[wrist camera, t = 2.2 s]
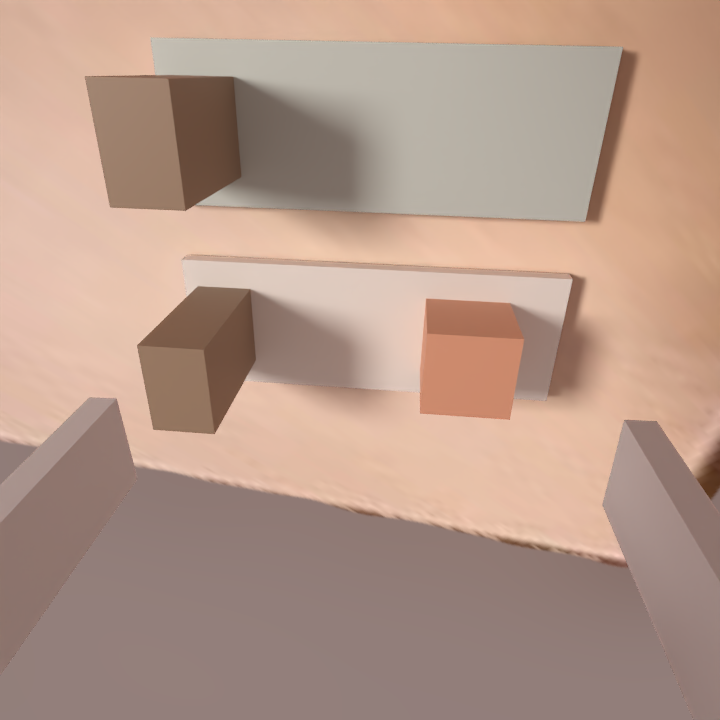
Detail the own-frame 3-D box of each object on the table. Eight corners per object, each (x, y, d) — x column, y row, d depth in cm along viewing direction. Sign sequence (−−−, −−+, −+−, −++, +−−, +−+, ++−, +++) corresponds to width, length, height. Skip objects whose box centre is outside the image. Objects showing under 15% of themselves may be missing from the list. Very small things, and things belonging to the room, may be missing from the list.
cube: (420, 370, 42) (420, 413, 37) (425, 298, 39) (427, 333, 34) (498, 375, 42) (509, 419, 36) (509, 303, 39) (524, 339, 34)
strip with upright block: (180, 200, 39) (99, 244, 29) (158, 38, 34) (53, 25, 24) (580, 217, 37) (639, 271, 27) (616, 47, 32) (704, 37, 22)
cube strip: (202, 370, 45) (143, 453, 36) (187, 254, 41) (113, 313, 31) (543, 393, 43) (580, 487, 34) (568, 273, 39) (619, 342, 29)
